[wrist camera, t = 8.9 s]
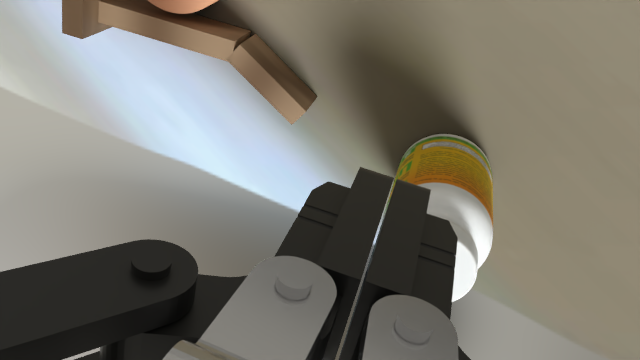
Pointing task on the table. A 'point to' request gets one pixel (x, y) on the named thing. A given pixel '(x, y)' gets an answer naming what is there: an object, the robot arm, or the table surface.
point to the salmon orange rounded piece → (182, 5)
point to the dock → (196, 44)
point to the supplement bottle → (455, 197)
